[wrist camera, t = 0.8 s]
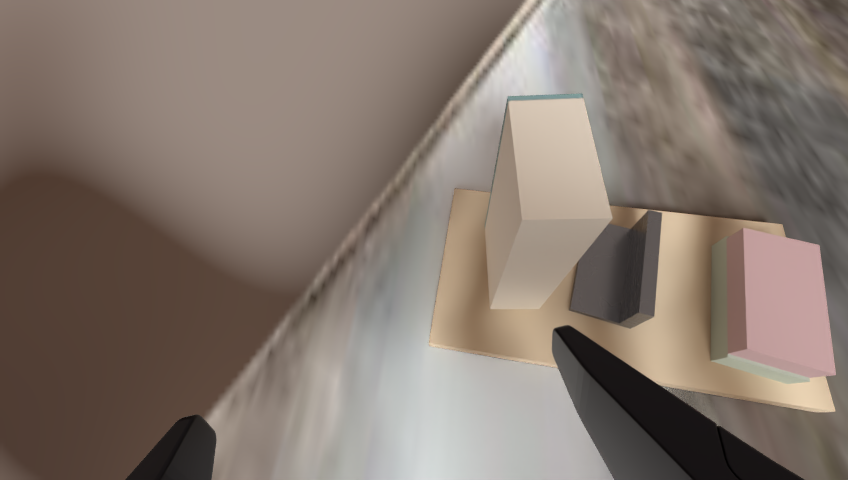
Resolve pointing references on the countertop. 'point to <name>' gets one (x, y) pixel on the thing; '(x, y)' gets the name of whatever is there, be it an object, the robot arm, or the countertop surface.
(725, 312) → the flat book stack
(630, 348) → the shelf plank
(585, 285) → the metal bookend
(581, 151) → the boxed book
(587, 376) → the robot arm
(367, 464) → the countertop surface
